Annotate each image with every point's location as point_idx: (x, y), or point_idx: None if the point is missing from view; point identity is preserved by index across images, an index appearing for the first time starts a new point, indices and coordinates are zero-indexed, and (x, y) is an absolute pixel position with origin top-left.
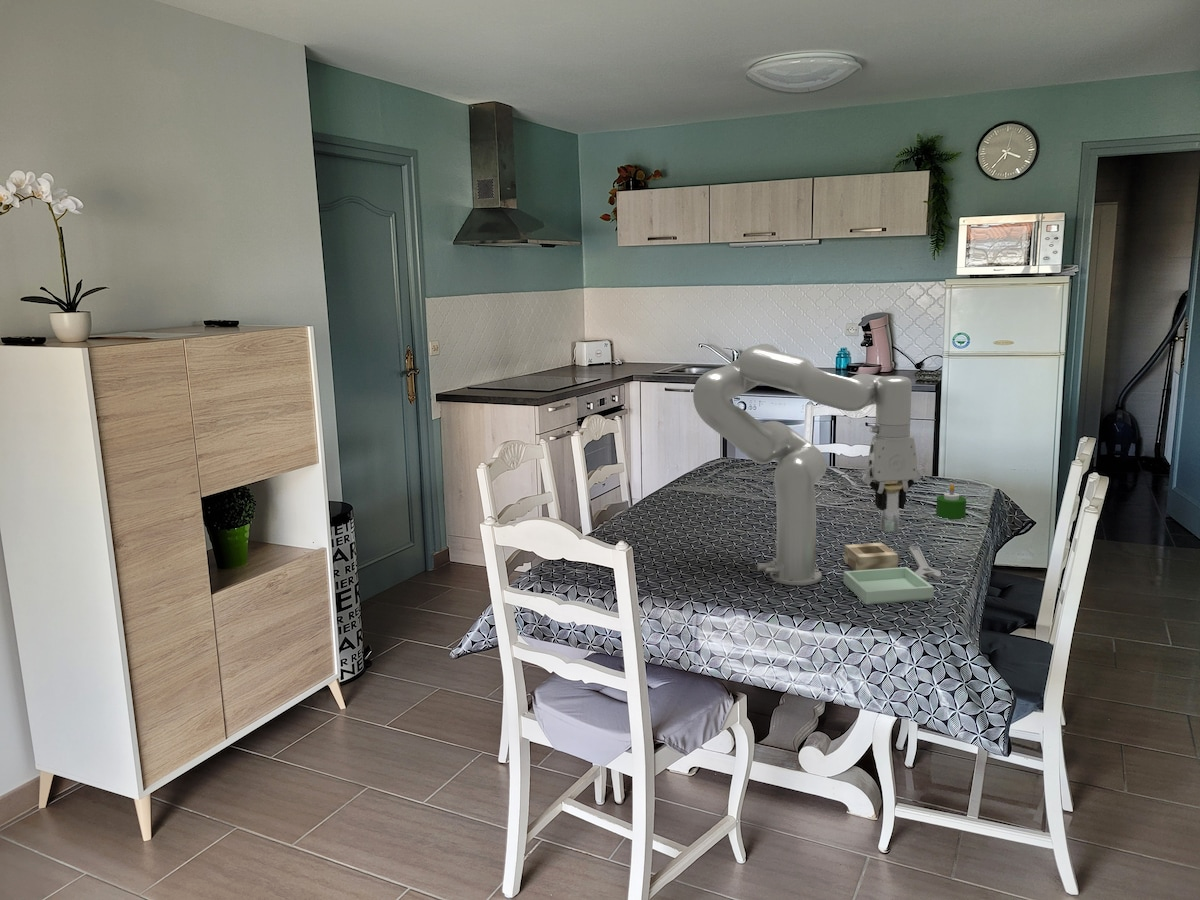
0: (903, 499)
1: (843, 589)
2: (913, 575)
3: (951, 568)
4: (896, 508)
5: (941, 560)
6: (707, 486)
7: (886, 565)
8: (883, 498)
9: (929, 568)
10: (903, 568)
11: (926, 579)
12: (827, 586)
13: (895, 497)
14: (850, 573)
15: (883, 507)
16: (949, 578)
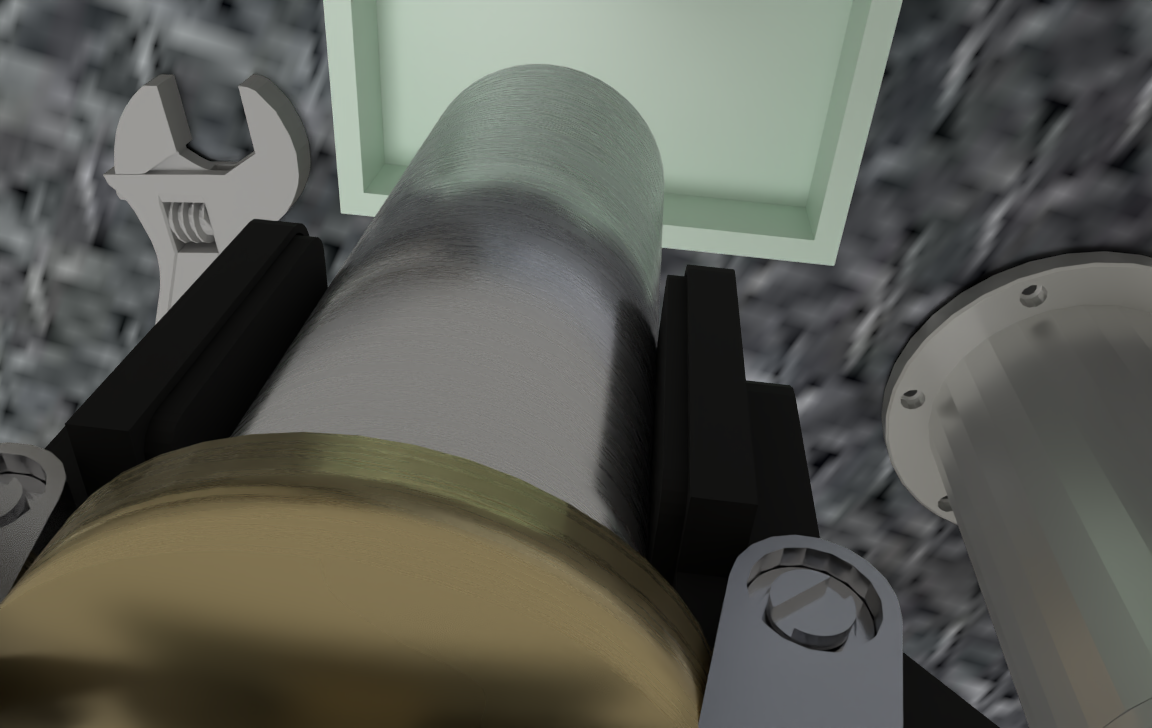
0: (193, 315)
1: (896, 117)
2: (356, 47)
3: (21, 254)
4: (429, 217)
5: (50, 381)
6: None
7: None
8: (718, 414)
9: (168, 241)
10: (377, 193)
11: (249, 82)
12: (964, 203)
13: (399, 348)
14: (794, 232)
15: (707, 286)
16: (78, 97)
